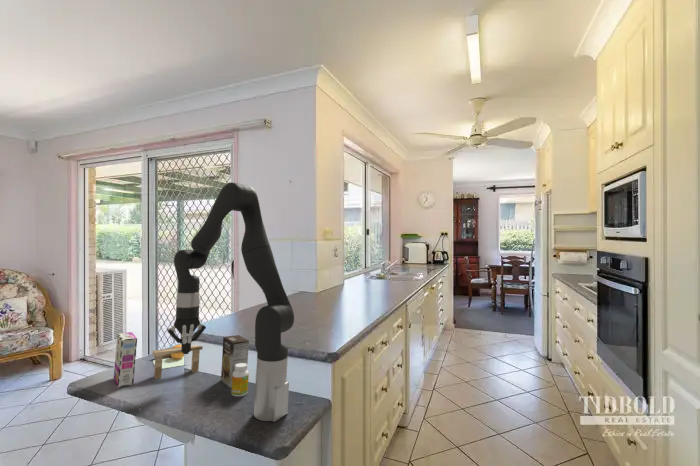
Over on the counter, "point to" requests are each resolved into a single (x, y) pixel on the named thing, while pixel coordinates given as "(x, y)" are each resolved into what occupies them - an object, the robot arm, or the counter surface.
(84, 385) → the counter surface
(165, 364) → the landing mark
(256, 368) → the robot arm
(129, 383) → the candy bar box
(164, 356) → the stopper
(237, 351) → the coffee box
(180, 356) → the ball
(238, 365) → the supplement bottle
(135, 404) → the counter surface
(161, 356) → the bridge
